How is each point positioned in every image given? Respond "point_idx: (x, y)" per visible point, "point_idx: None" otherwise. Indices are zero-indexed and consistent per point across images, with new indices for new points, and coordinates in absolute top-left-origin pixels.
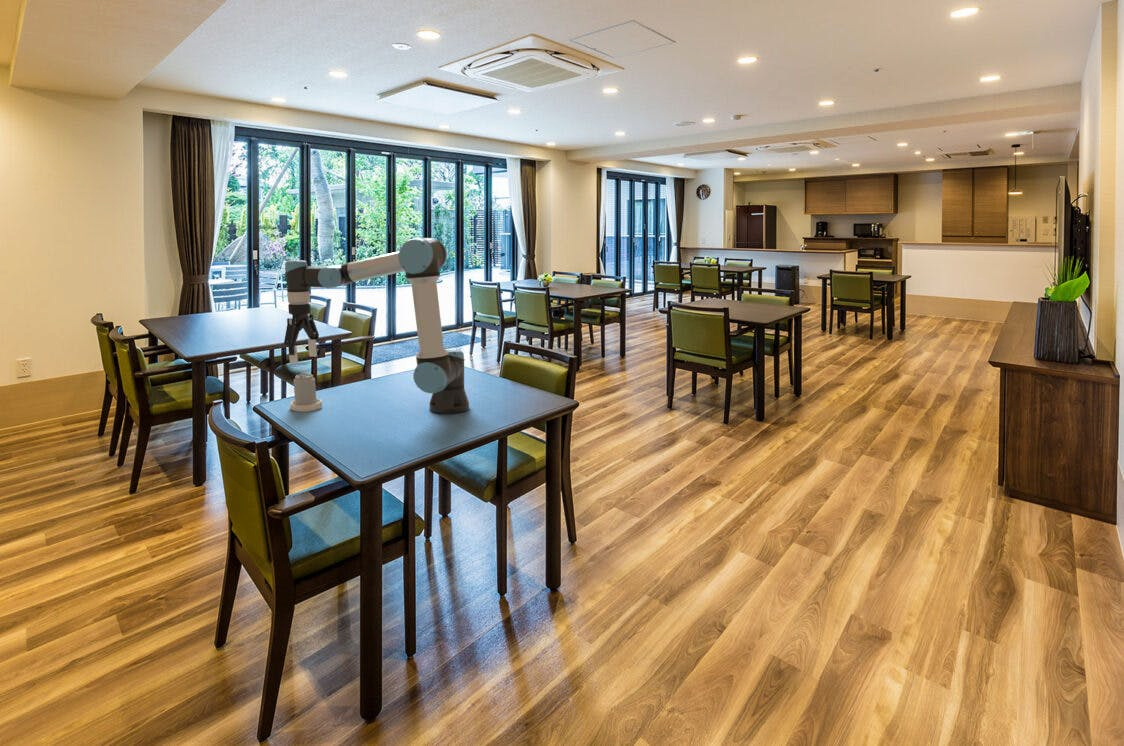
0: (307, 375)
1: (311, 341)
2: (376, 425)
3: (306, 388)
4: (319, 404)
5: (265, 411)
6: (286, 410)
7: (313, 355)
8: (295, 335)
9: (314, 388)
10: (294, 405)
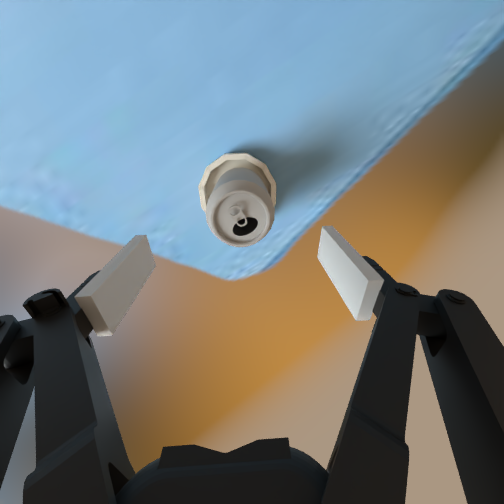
0: (230, 212)
1: (109, 307)
2: None
3: (264, 187)
4: (238, 153)
5: (282, 256)
6: None
7: (147, 249)
8: (412, 359)
9: (236, 175)
10: (275, 204)
